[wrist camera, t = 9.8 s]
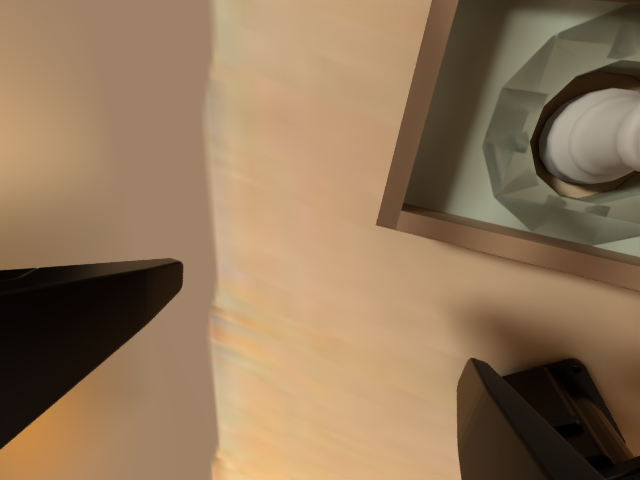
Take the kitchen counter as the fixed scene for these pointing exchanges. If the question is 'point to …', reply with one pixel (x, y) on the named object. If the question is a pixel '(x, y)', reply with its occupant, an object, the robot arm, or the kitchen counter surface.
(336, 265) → the kitchen counter surface
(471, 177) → the bore tray
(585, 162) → the rook chess piece
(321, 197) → the kitchen counter surface
